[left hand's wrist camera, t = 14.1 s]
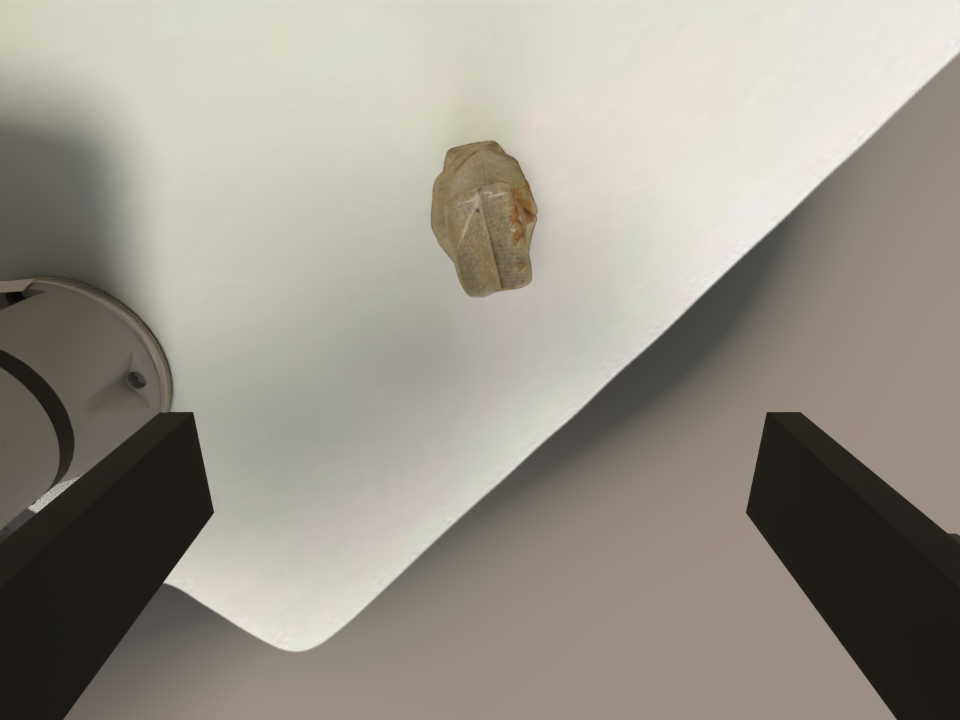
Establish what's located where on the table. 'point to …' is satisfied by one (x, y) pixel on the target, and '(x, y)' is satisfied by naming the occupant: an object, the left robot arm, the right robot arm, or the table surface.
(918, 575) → the left robot arm
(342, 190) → the table surface
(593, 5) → the table surface
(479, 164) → the sculpture
